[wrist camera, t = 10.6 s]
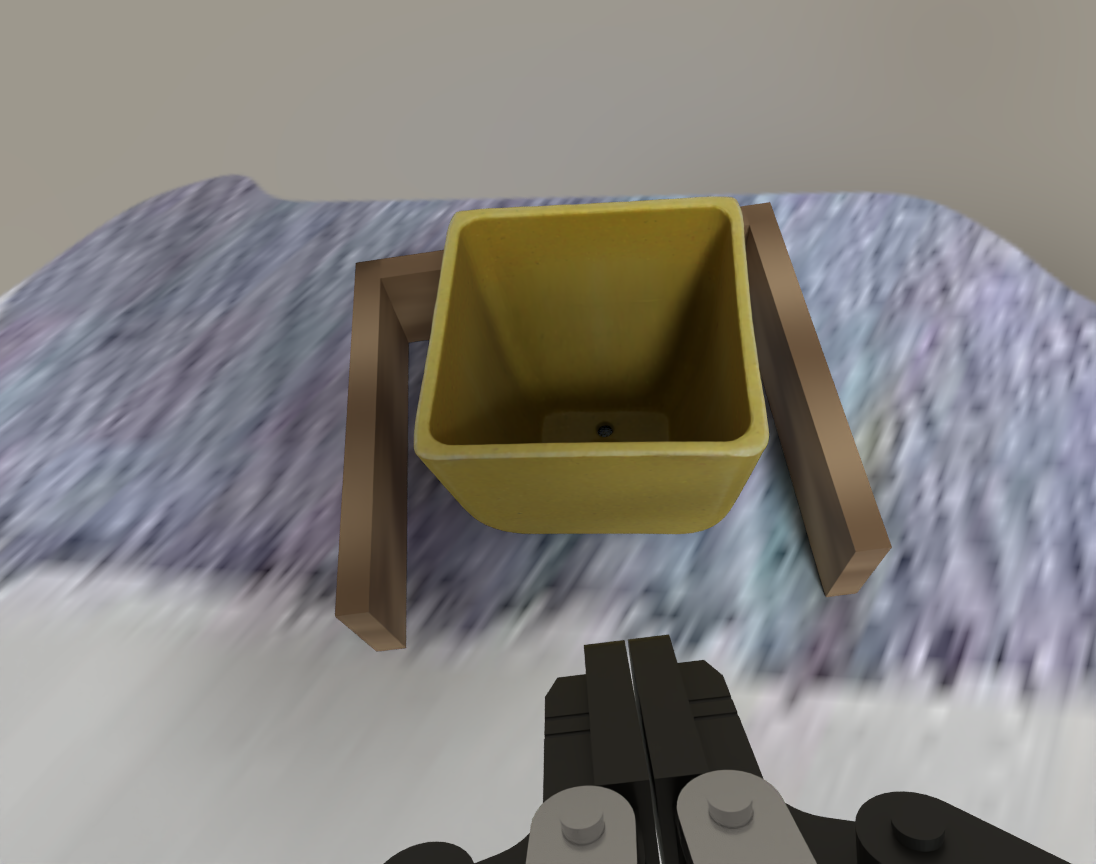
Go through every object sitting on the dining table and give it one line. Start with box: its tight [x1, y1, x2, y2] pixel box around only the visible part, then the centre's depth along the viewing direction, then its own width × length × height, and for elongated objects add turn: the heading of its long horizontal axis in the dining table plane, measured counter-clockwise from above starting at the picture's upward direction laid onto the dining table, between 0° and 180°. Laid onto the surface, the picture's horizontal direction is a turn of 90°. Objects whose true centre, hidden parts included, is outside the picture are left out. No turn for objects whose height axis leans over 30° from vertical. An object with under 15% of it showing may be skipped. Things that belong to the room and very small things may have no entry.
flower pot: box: [414, 197, 769, 534], centre depth 24 cm, size 9×9×9 cm
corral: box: [335, 202, 892, 651], centre depth 27 cm, size 14×16×4 cm
